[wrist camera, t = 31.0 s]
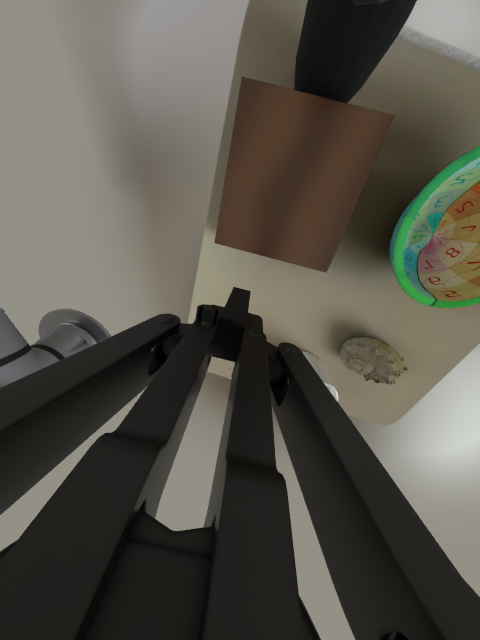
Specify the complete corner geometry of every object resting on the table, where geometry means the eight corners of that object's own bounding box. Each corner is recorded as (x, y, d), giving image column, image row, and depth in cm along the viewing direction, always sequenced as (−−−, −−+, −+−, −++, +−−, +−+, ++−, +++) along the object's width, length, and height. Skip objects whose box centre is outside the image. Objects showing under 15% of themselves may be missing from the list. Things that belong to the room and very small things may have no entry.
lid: (390, 119, 22) (394, 115, 21) (325, 271, 29) (326, 272, 29) (242, 81, 22) (242, 76, 21) (215, 242, 29) (214, 242, 29)
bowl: (419, 136, 30) (487, 94, 21) (532, 193, 32) (640, 177, 23) (339, 268, 40) (363, 278, 31) (429, 307, 41) (478, 327, 32)
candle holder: (288, 345, 48) (297, 377, 38) (326, 352, 48) (346, 387, 37) (279, 374, 53) (284, 411, 42) (313, 381, 52) (328, 420, 42)
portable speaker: (303, 42, 27) (387, -311, 10) (361, 68, 28) (543, -220, 10) (279, 119, 31) (308, -36, 13) (331, 141, 31) (427, 20, 14)
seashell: (353, 319, 45) (371, 339, 36) (406, 347, 46) (437, 374, 36) (324, 353, 50) (334, 378, 41) (372, 378, 50) (393, 408, 41)
